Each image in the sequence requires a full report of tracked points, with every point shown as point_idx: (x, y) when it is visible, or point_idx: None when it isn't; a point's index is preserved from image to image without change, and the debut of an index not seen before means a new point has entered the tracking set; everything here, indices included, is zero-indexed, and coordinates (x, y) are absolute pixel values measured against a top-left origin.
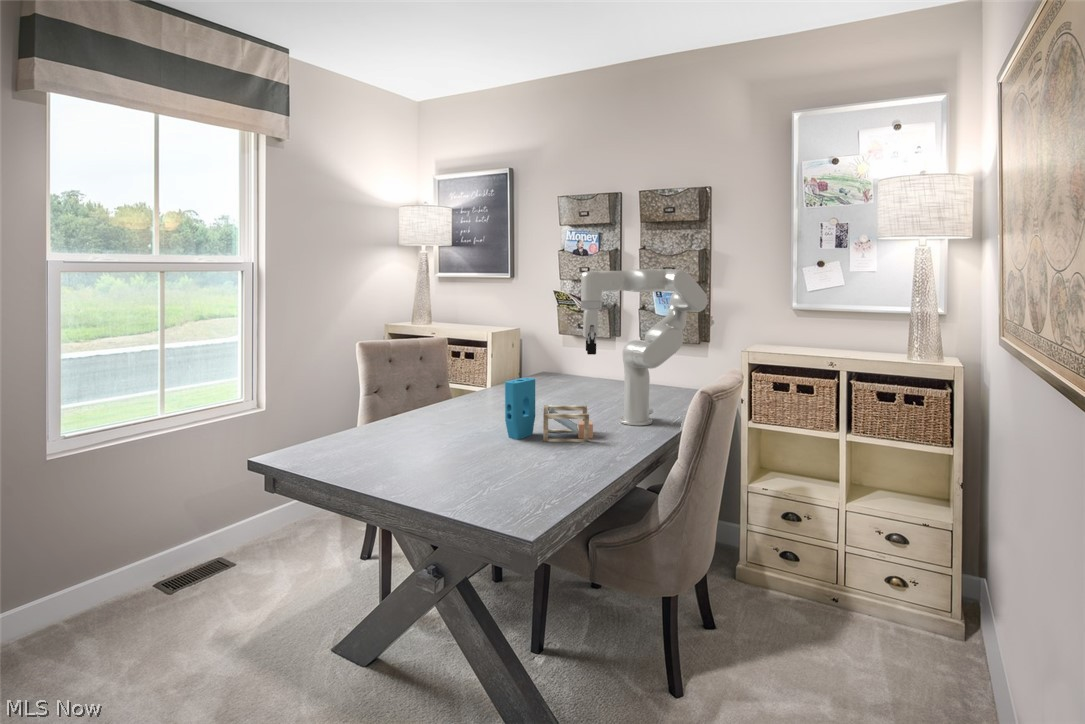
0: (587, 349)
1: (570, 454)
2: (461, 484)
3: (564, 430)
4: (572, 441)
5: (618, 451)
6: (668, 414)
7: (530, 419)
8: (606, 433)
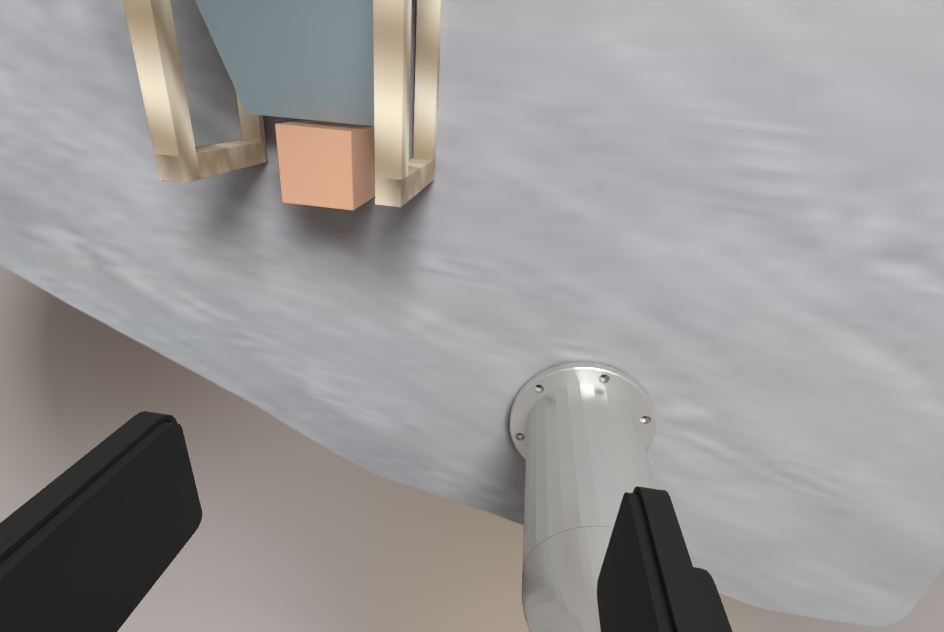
0: (74, 469)
1: (42, 44)
2: None
3: (416, 54)
4: None
5: (138, 254)
6: None
7: None
8: (394, 263)
